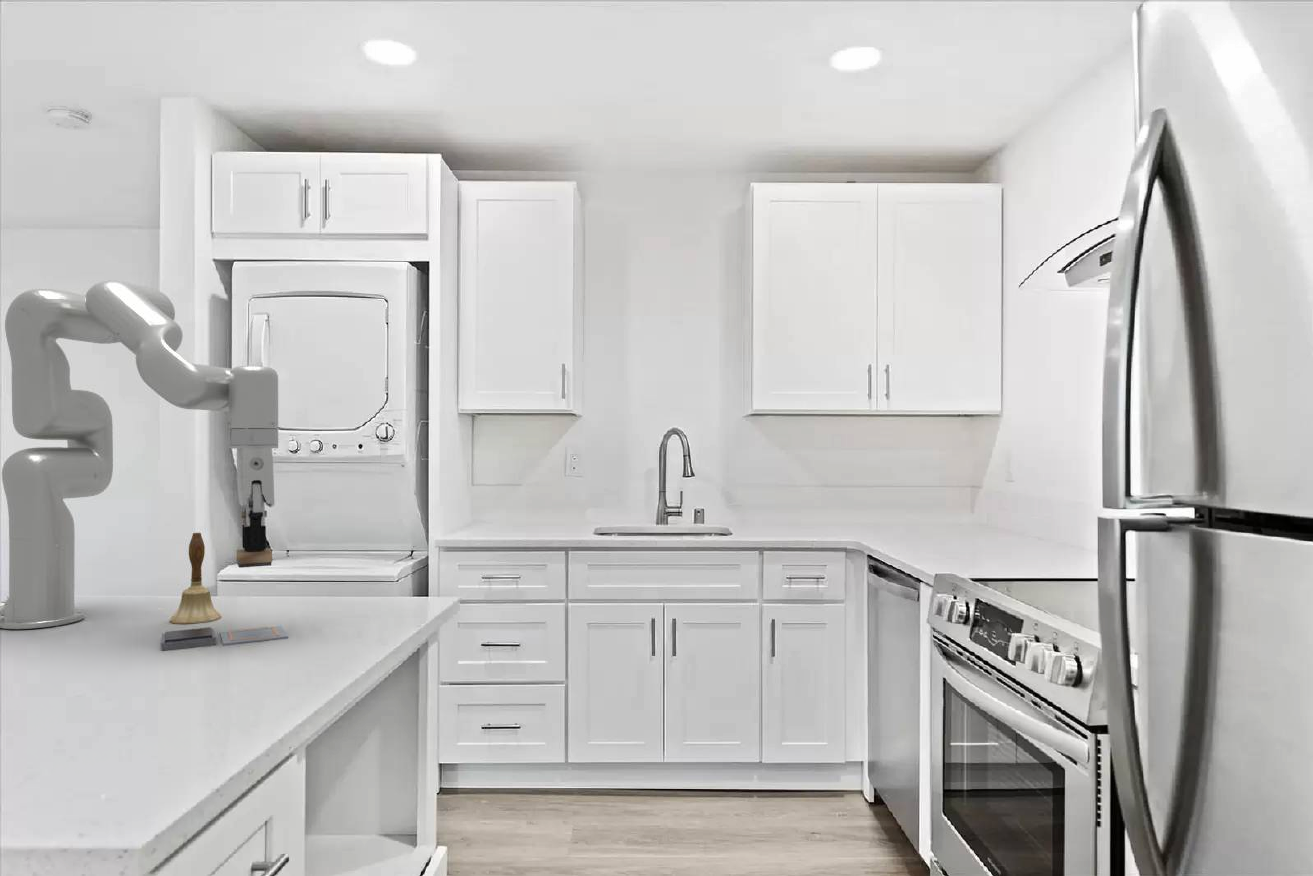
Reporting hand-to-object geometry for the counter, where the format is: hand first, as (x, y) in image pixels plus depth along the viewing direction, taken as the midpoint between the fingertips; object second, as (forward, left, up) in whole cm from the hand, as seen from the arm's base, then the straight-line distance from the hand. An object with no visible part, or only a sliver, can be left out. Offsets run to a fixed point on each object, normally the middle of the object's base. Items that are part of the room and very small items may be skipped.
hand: (254, 548), depth 139 cm
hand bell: (-8, +20, -15) cm, 26 cm away
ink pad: (-10, 0, -15) cm, 18 cm away
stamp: (0, 0, -3) cm, 3 cm away
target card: (0, 0, -15) cm, 15 cm away
